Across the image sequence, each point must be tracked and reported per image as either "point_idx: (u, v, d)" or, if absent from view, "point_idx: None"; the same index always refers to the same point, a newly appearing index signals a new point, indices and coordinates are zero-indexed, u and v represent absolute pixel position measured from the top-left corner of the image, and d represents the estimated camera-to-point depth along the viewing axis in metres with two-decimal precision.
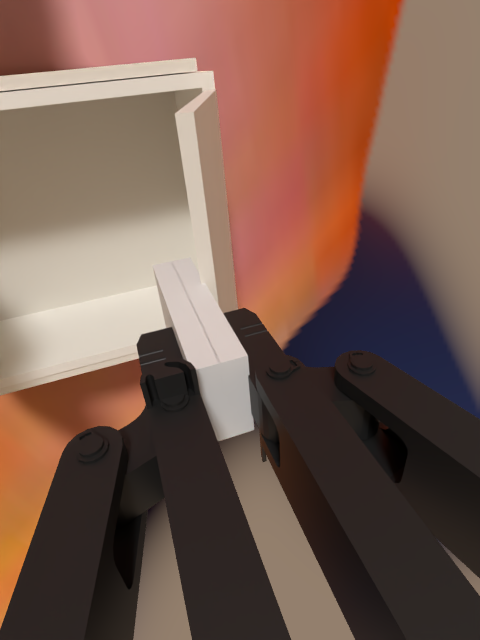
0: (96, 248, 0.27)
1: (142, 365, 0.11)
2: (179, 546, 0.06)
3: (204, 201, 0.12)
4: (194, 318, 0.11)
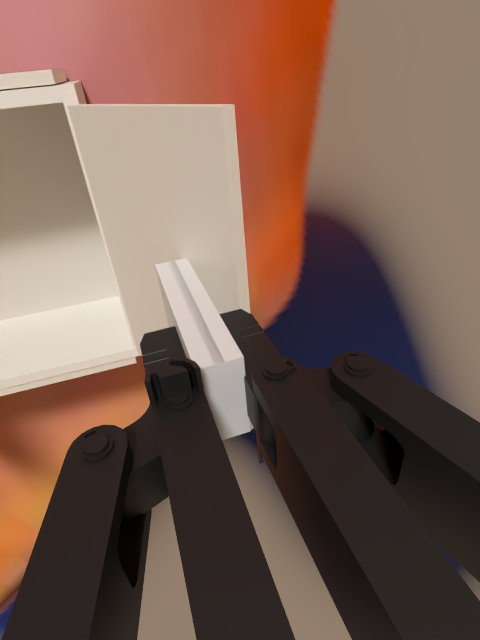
0: (4, 267, 0.25)
1: (146, 364, 0.11)
2: (183, 544, 0.06)
3: (240, 191, 0.12)
4: (197, 317, 0.11)
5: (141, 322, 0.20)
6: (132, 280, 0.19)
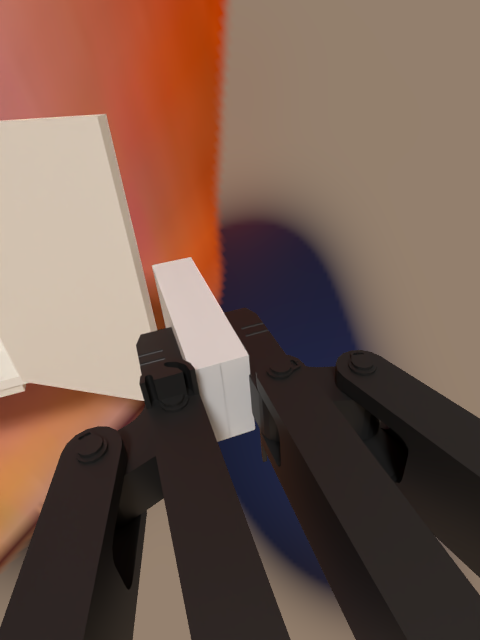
0: None
1: (141, 365, 0.11)
2: (178, 546, 0.06)
3: (122, 188, 0.14)
4: (194, 318, 0.11)
5: (25, 344, 0.20)
6: (7, 301, 0.18)
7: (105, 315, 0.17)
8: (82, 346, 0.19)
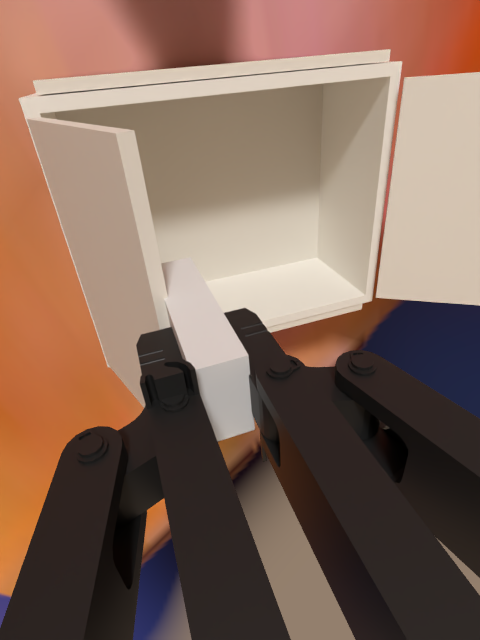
0: (233, 229, 0.29)
1: (142, 365, 0.11)
2: (179, 546, 0.06)
3: None
4: (194, 318, 0.11)
5: (405, 261, 0.24)
6: (414, 222, 0.23)
7: None
8: (468, 259, 0.23)
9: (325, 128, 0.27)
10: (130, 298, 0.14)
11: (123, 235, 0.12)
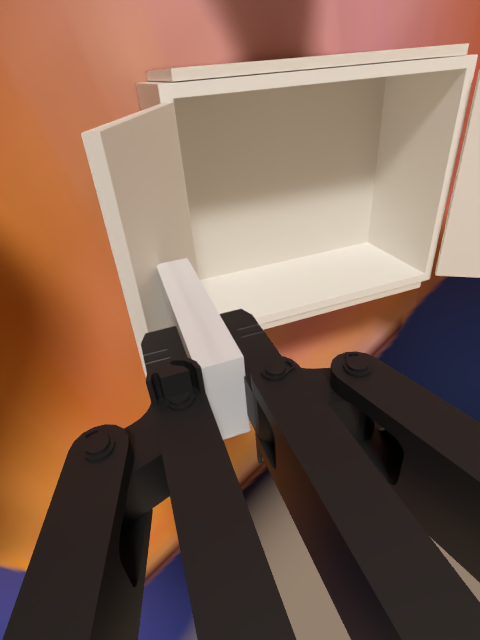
0: (296, 214, 0.31)
1: (147, 364, 0.11)
2: (184, 544, 0.06)
3: None
4: (198, 317, 0.11)
5: (467, 239, 0.27)
6: (479, 203, 0.25)
7: None
8: None
9: (385, 118, 0.29)
10: None
11: None
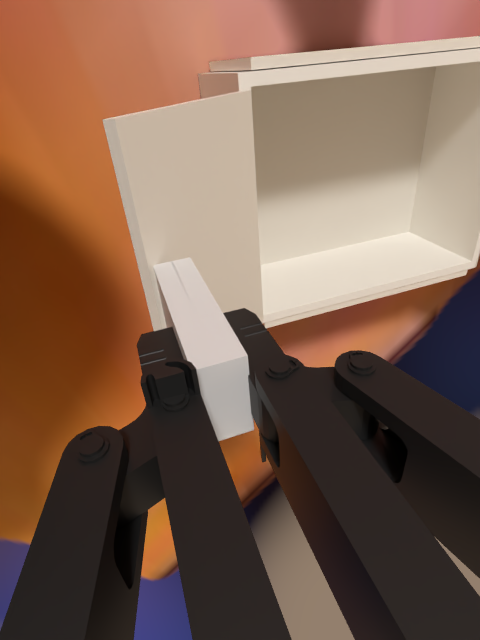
0: (342, 203, 0.31)
1: (142, 365, 0.11)
2: (179, 546, 0.06)
3: None
4: (194, 318, 0.11)
5: None
6: None
7: None
8: None
9: (434, 108, 0.29)
10: None
11: None
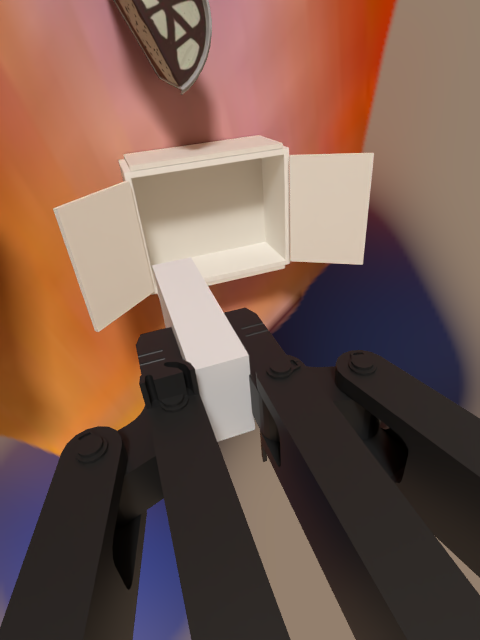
0: (215, 225, 0.53)
1: (141, 365, 0.11)
2: (178, 546, 0.06)
3: None
4: (193, 318, 0.11)
5: (302, 241, 0.48)
6: (303, 221, 0.47)
7: (348, 224, 0.45)
8: (331, 239, 0.47)
9: (263, 171, 0.50)
10: None
11: None
